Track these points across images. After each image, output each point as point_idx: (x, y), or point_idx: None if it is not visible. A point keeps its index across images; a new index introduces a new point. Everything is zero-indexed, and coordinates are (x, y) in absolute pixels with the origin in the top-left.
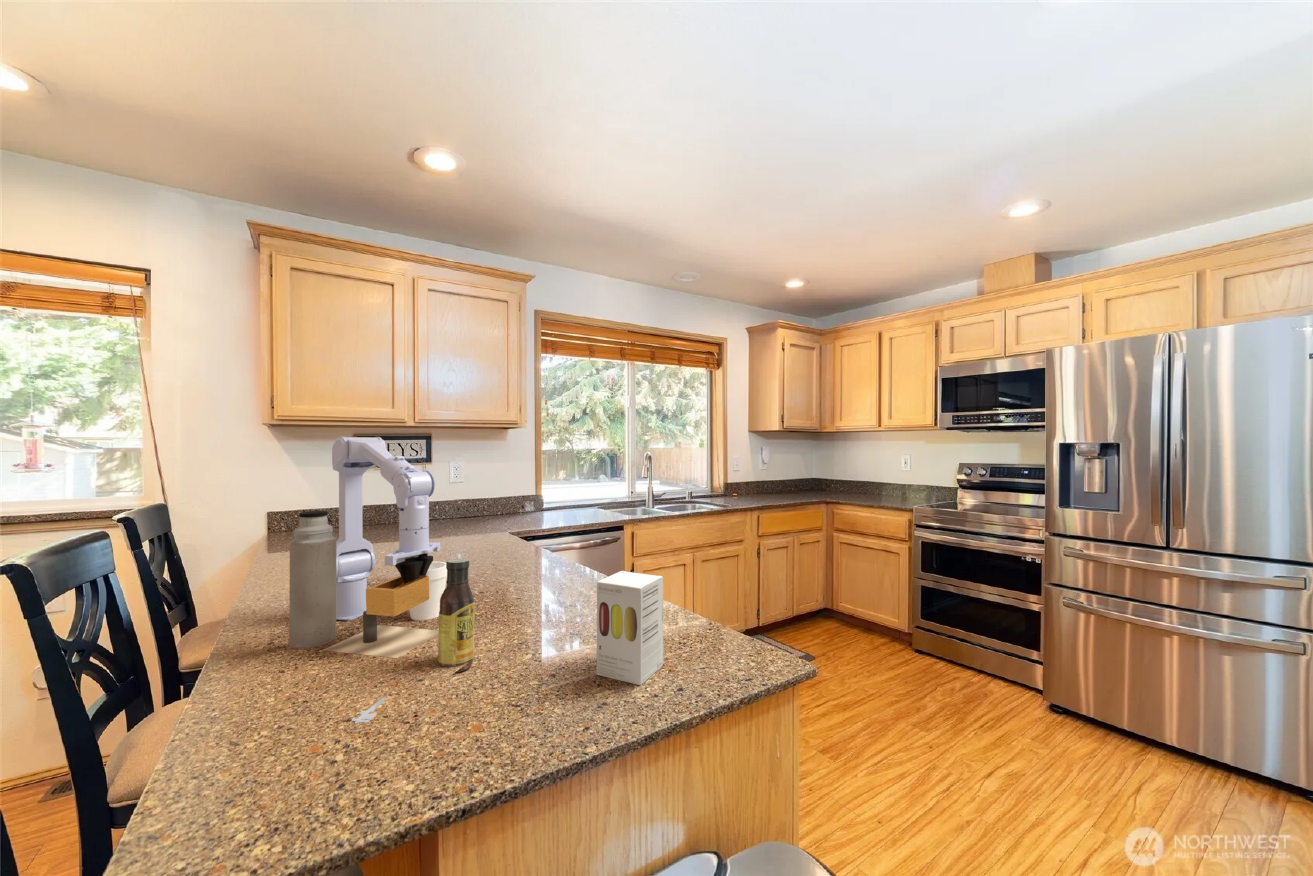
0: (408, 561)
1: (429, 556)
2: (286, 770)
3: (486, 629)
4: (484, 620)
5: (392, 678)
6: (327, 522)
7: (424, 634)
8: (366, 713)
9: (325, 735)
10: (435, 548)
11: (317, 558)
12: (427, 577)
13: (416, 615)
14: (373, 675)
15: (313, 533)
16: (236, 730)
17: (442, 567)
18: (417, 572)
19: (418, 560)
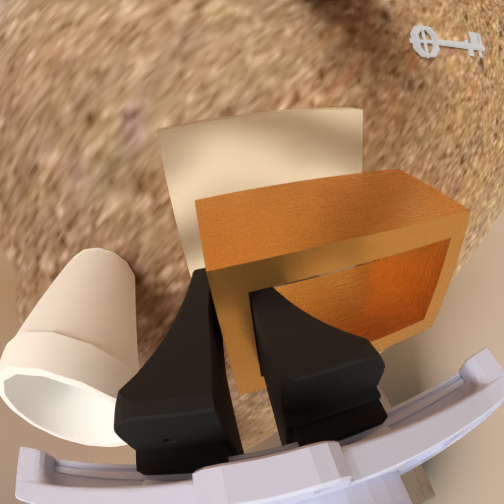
0: (366, 405)
1: (146, 435)
2: None
3: (56, 77)
4: (13, 148)
5: (395, 74)
6: None
7: (204, 166)
8: (474, 44)
9: (498, 69)
10: (50, 476)
11: (414, 468)
12: (221, 262)
13: (132, 291)
14: (393, 123)
15: None
16: (497, 177)
17: (21, 368)
18: (284, 324)
19: (229, 428)
